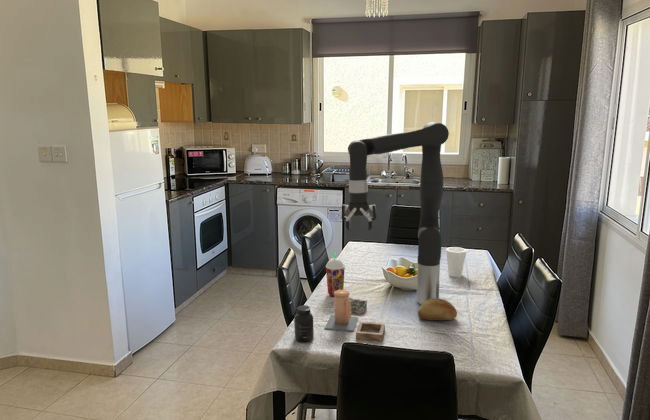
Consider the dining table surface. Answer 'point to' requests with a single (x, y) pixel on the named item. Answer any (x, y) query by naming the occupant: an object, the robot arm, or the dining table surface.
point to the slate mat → (348, 327)
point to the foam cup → (455, 261)
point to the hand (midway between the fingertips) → (359, 229)
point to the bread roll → (437, 310)
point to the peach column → (342, 307)
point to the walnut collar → (370, 335)
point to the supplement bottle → (303, 324)
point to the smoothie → (335, 275)
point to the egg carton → (358, 305)
